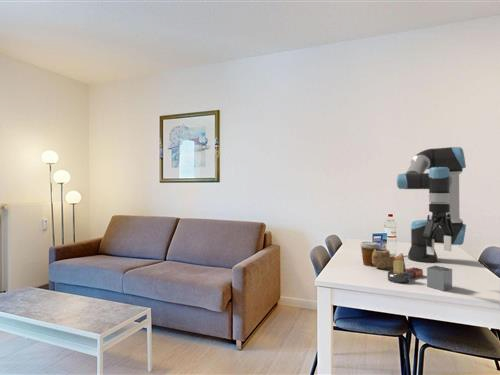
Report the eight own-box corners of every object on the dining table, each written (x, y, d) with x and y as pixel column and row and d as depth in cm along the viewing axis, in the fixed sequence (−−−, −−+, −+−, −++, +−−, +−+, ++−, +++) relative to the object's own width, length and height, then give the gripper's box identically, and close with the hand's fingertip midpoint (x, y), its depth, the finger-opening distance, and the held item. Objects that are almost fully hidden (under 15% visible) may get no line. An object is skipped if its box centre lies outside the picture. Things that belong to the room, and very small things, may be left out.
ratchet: (409, 272, 151) (409, 254, 151) (427, 277, 143) (427, 258, 143) (383, 279, 141) (383, 260, 141) (401, 284, 133) (401, 264, 133)
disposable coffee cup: (357, 264, 166) (357, 243, 166) (364, 261, 173) (364, 240, 173) (374, 268, 160) (374, 245, 160) (381, 264, 167) (381, 242, 167)
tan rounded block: (407, 272, 151) (407, 252, 151) (373, 270, 156) (372, 251, 156) (403, 267, 160) (403, 249, 160) (371, 265, 164) (371, 247, 164)
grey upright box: (435, 283, 134) (435, 265, 134) (452, 288, 128) (452, 269, 128) (427, 286, 130) (426, 267, 130) (443, 291, 125) (443, 271, 125)
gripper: (445, 202, 139) (445, 247, 139) (413, 203, 126) (413, 254, 126) (463, 202, 132) (463, 250, 132) (432, 204, 119) (432, 257, 119)
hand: (439, 252), depth 129 cm, fingers open, 13 cm apart
